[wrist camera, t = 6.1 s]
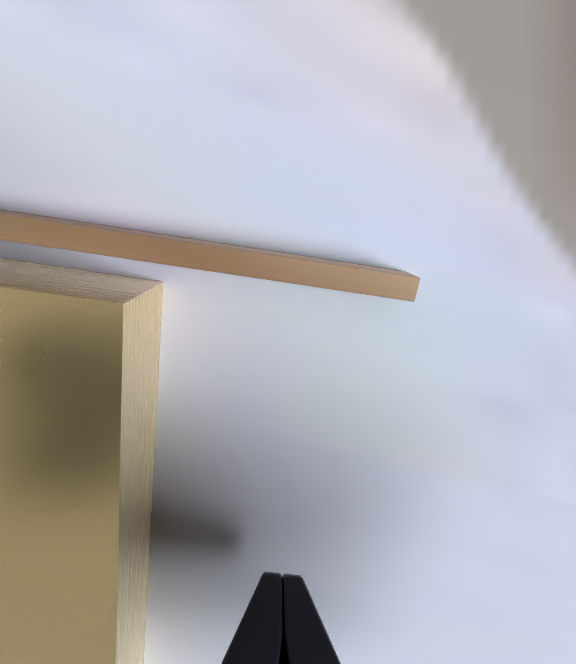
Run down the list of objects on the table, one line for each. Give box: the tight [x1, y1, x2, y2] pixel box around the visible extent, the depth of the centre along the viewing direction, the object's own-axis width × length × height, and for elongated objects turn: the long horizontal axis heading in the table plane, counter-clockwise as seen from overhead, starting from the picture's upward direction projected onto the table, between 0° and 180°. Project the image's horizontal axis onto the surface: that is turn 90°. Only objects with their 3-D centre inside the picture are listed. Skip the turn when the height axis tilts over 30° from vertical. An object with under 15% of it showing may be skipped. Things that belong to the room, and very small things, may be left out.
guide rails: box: [0, 210, 420, 302], centre depth 8 cm, size 14×12×1 cm
